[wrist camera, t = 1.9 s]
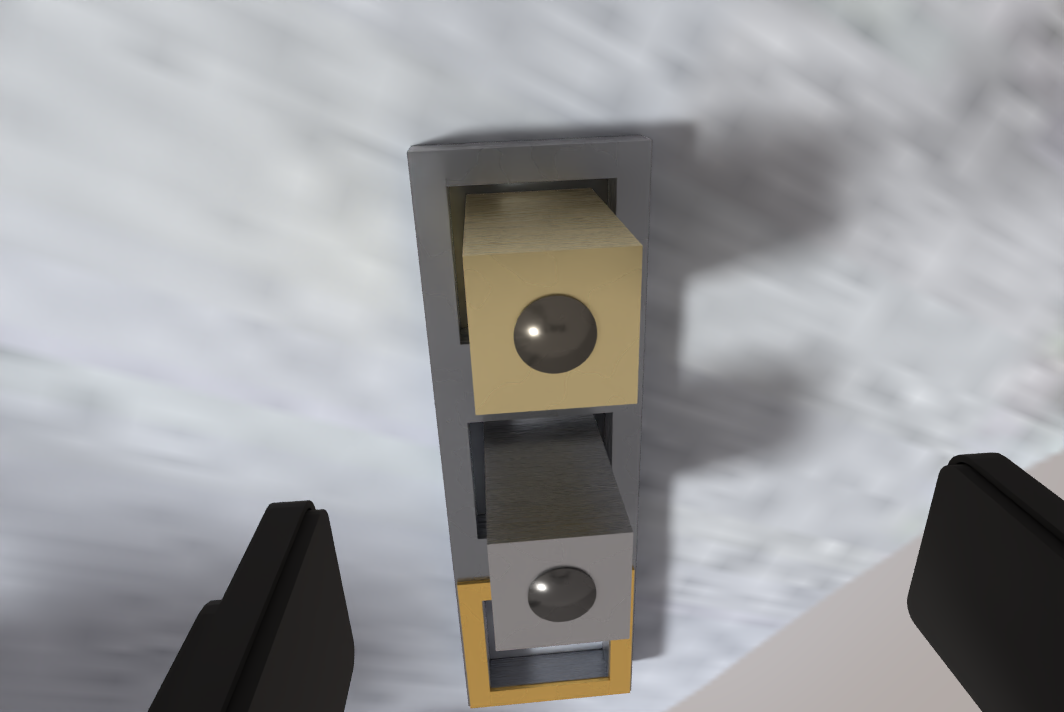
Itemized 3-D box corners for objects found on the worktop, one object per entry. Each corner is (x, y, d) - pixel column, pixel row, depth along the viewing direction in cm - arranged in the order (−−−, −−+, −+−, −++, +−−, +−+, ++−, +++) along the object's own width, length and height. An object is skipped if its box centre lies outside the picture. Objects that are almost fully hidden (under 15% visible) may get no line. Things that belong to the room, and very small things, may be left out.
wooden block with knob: (466, 194, 23) (462, 257, 16) (591, 187, 24) (643, 246, 16) (475, 312, 25) (475, 417, 18) (591, 305, 26) (638, 405, 18)
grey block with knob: (483, 414, 27) (486, 546, 20) (590, 406, 27) (633, 534, 20) (489, 502, 29) (496, 653, 22) (590, 494, 29) (630, 641, 22)
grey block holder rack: (411, 145, 23) (406, 152, 21) (640, 134, 23) (653, 140, 21) (468, 678, 33) (468, 709, 32) (624, 663, 34) (631, 694, 32)
